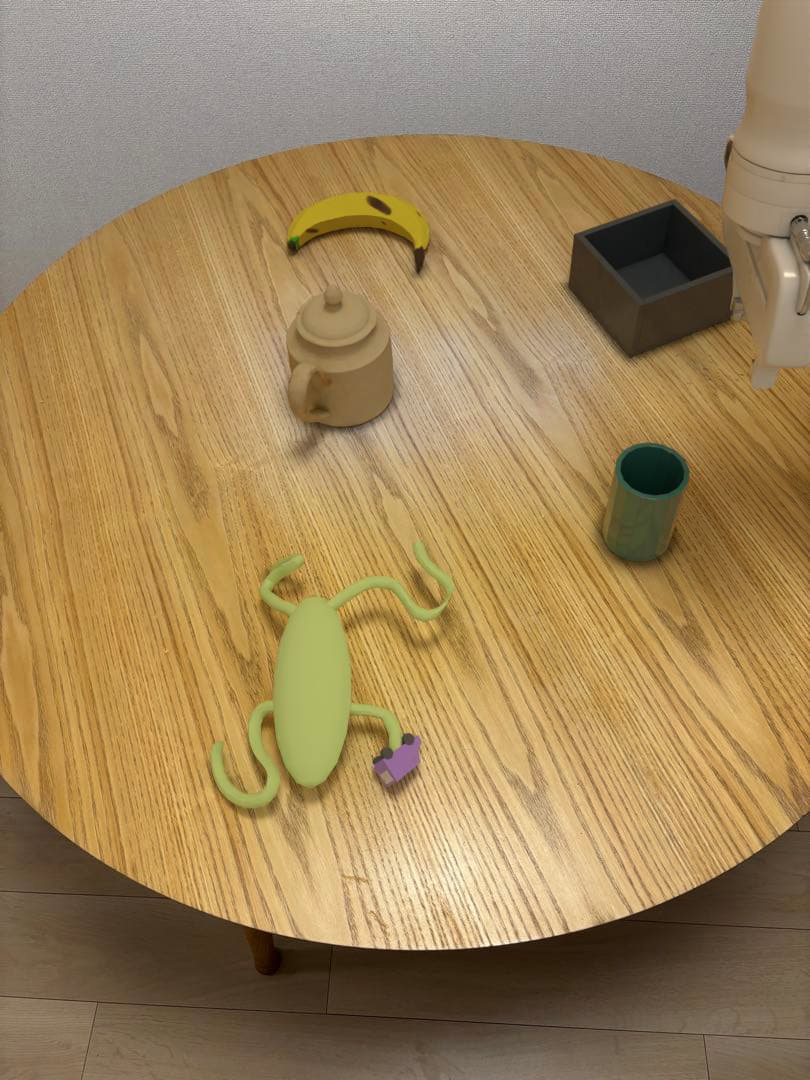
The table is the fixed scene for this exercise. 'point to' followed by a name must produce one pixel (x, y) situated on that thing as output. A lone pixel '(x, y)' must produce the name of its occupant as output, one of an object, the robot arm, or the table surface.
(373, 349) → the sugar bowl
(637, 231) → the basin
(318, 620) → the figurine
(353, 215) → the banana
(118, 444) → the table surface
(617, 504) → the cup
